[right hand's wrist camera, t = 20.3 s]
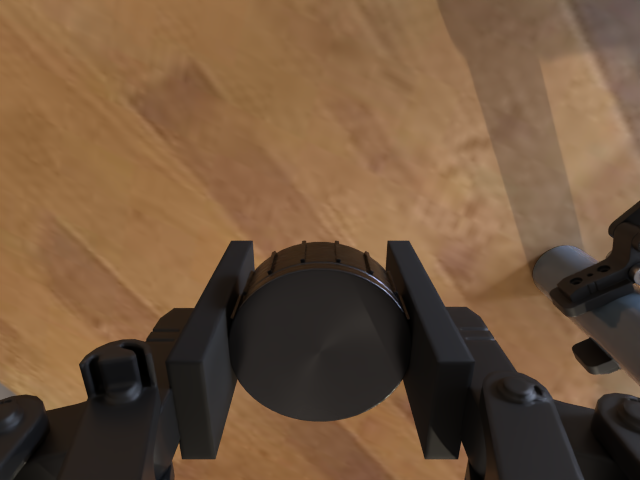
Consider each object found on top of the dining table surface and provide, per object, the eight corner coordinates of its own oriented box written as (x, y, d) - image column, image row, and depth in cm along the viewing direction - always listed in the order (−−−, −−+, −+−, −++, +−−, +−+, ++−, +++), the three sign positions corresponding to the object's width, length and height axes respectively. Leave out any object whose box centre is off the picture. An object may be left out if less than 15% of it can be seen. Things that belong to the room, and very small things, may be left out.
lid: (434, 282, 12) (453, 315, 10) (353, 400, 13) (358, 446, 12) (280, 209, 11) (273, 232, 9) (213, 345, 13) (197, 386, 11)
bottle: (534, 299, 31) (709, 480, 17) (530, 252, 29) (717, 407, 15) (588, 287, 30) (814, 462, 16) (587, 239, 29) (833, 386, 15)
